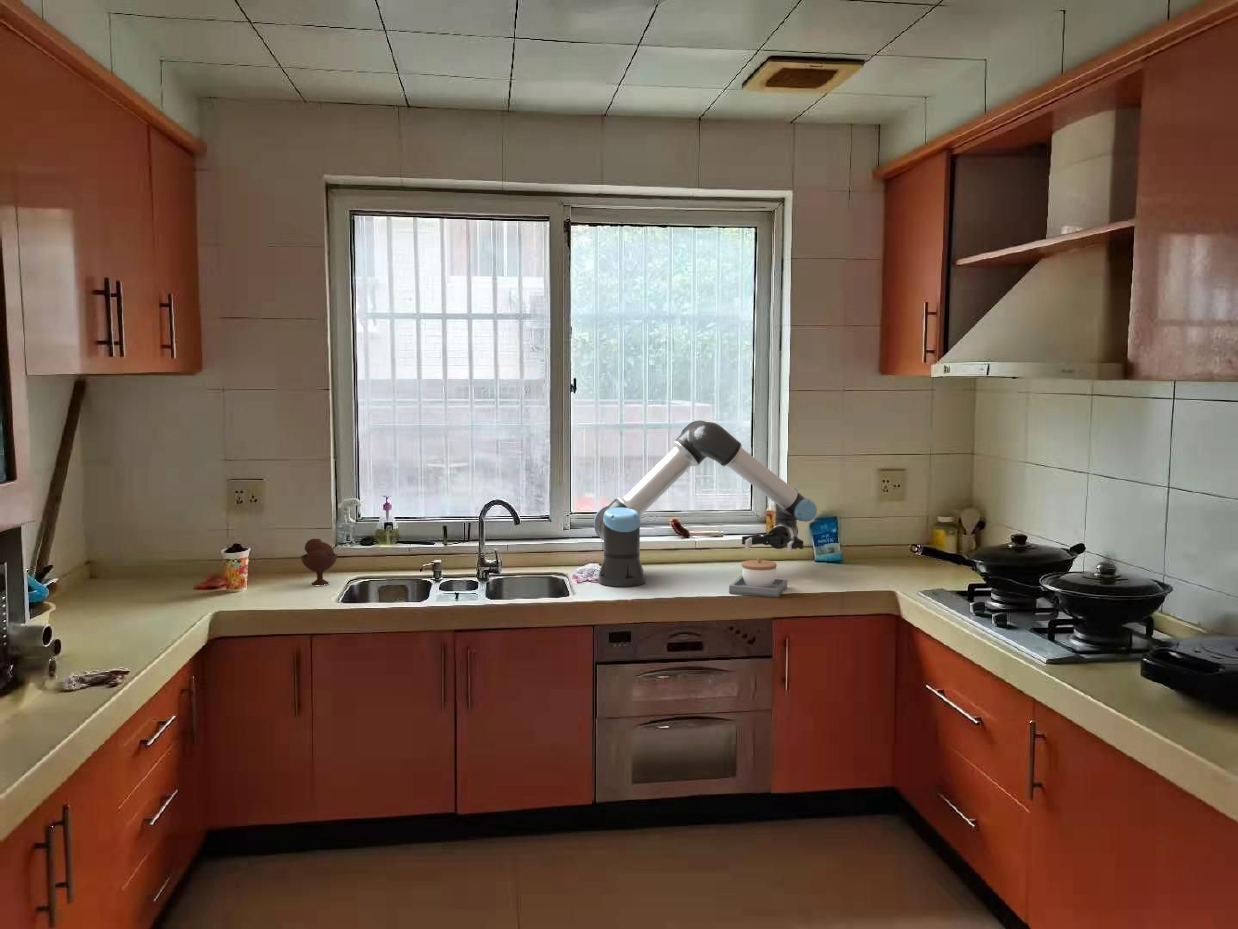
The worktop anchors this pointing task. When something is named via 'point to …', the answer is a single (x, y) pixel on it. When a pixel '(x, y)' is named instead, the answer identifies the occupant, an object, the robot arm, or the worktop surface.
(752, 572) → the lidded jar
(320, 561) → the ice cream bowl
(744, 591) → the tray
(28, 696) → the worktop surface
